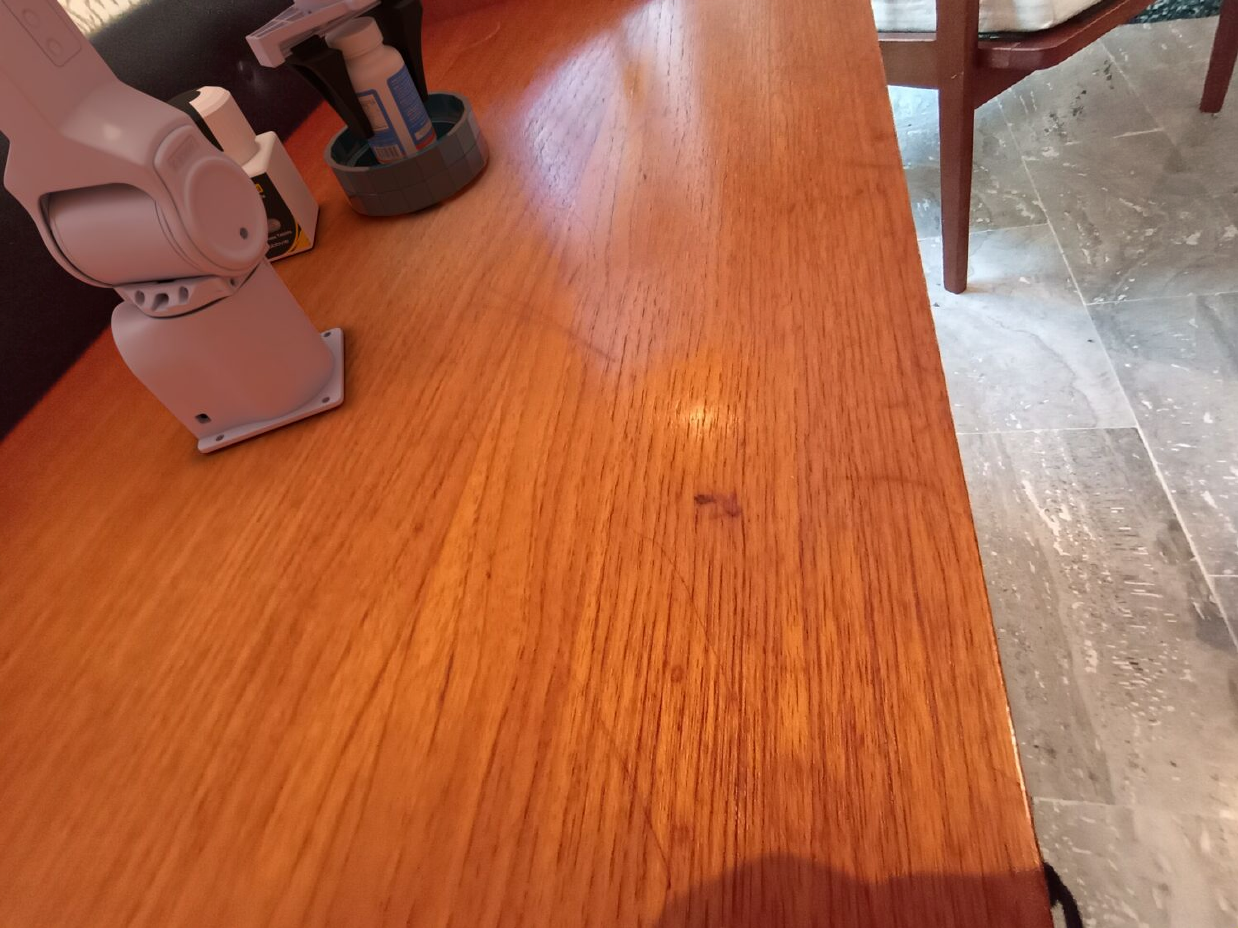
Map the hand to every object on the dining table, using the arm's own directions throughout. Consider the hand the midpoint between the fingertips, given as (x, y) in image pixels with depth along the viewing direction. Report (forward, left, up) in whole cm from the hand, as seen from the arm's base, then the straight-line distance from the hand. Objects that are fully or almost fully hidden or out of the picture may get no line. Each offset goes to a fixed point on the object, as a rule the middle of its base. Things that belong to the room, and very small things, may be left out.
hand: (392, 118), depth 60 cm
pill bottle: (0, 0, -3) cm, 3 cm away
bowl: (0, 0, -5) cm, 5 cm away
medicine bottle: (-13, -2, -6) cm, 14 cm away
